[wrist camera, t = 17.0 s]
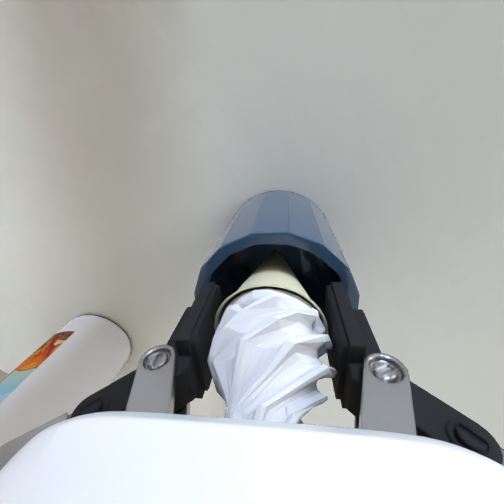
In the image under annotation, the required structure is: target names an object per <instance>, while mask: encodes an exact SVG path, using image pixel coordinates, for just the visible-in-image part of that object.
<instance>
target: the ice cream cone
mask: <svg viewBox="0 0 504 504" xmlns="http://www.w3.org/2000/svg"><path fill="white" fill-rule="evenodd" d="M214 326H215V334H214V337H213V339H212V344H211V348H210V352H209V356H208V360H207V361H208V365H209V368H210V371H211V374H212V378H213V381H214V384H215V387H216V391H217V392H218V394H219V395H220V396H221V397H222V398H223V399H224V401H225V403H226V406H227V408H226V413H225V417H224V418H235V419H247V420H260V421H272V422H285V423H297V424H304V423H303V422H302V421H301V418H302V417H303V416H304V415H305V414H306V413H307V412H308V411H309V410H310V409H312V408H313V407H315V406H317V405H320V404H322V403H324V402H325V401H327V400H328V397H327V396H326V395H324V394H322V393H320V392H319V391H318V390H317V386H316V383H317V381H318V380H319V379H322V378H334V377H335V376H336V374H337V373H338V372H337V370H336V368H333V367H330V366H328V365H325V364H322V363H321V362H320V361H319V356H318V355H319V354H320V353H321V351H324V350H330V349H332V348H333V344H332V342H331V340H330V337H329V335H328V325H327V321H326V318H325V316H324V314H323V313H322V311H321V309H320V308H319V307H318V306H317V305H316V304H315V302H314V301H312V300H311V299H310V298H309V296H308V294H307V293H306V291H305V290H304V288H303V287H302V285H301V284H300V282H299V281H298V279H297V278H296V276H295V275H294V273H293V271H292V270H291V268H290V266H289V265H288V263H287V262H286V260H285V259H284V257H283V256H282V254H281V253H280V251H279V250H278V249H275V250H273V251H272V253H271V254H270V255H269V256H268V257H267V258H266V259H265V260H264V261H263V262H262V263H261V265H260V266H259V267H258V268H257V269H256V270H255V271H254V272H253V273H252V274H251V275H250V277H249V278H248V279H247V280H246V281H245V282H244V283H243V284H242V285H241V287H240V288H239V289H238V290H237V291H236V292H234V293H233V294H231V295H230V296H229V297H227V298H226V299H225V301H224V302H223V303H222V304H221V305H220V307H219V309H218V310H217V313H216V316H215V324H214Z"/></svg>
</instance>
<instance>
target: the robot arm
mask: <svg viewBox="0 0 504 504" xmlns="http://www.w3.org/2000/svg"><path fill="white" fill-rule="evenodd" d="M221 304H222V296H221V290H220V286H219V285H216V283H215V282H204V284H203V286H202V287H201V289H200V291H199V293H198V295H197V297H196V299H195V301H194V303H193V305H192V306H191V307H188V308H187V309H186V310H185V312H184V314H183V316H182V317H181V319H180V321H179V323H178V325H177V326H176V328H175V330H174V332H173V334H172V336H171V337H170V339H169V341H168V343H167V345H158V346H155V347H153V348H151V349H149V350H148V351H147V352H145V353H144V354H143V356H142V357H141V358H140V361H139V363H138V367H137V369H136V370H135V371H133V372H131V373H129V374H127V375H126V376H124V377H122V378H120V379H119V380H117V381H115V382H113V383H111V384H110V385H108V386H106V387H104V388H102V389H101V390H99V391H97V392H95V393H93V394H92V395H90V396H88V397H87V398H85V399H84V400H83V401H82V402H81V403H80V404H79V405H78V406H77V407H76V408H75V410H74V411H73V413H72V414H70V415H69V414H68V413H65V414H63V415H61V416H59V417H57V418H55V419H53V420H51V421H49V422H47V423H45V424H43V425H41V426H39V427H37V428H35V429H33V430H31V431H29V432H27V433H25V434H23V435H21V436H19V437H17V438H15V439H13V440H11V441H9V442H7V443H5V444H4V445H2V446H1V447H0V504H504V449H502V448H501V447H500V446H499V445H498V443H497V442H496V440H495V439H494V438H493V436H492V435H491V434H490V433H489V432H488V431H487V430H485V429H484V428H483V427H481V426H480V425H479V424H477V423H476V422H474V421H473V420H471V419H470V418H468V417H466V416H465V415H463V414H462V413H460V412H458V411H457V410H455V409H454V408H452V407H450V406H449V405H447V404H446V403H444V402H443V401H441V400H439V399H438V398H436V397H435V396H433V395H431V394H430V393H428V392H427V391H425V390H423V389H422V388H420V387H419V386H417V385H416V384H414V383H412V382H411V381H410V377H409V373H408V370H407V368H406V367H405V366H404V364H403V363H401V362H400V361H399V360H398V359H396V358H395V357H393V356H390V355H388V354H384V353H381V351H380V349H379V347H378V344H377V342H376V340H375V337H374V335H373V333H372V330H371V328H370V326H369V323H368V321H367V319H366V316H365V314H364V312H363V310H356V309H353V308H352V306H351V303H350V300H349V298H348V295H347V292H346V290H345V287H344V284H343V282H331V283H330V285H326V292H325V308H324V316H325V318H326V321H327V325H328V335H329V337H330V340H331V342H332V344H333V348H332V349H330V350H327V355H328V360H329V365H330V367H333V368H336V370H337V372H338V373H337V374H336V376H335V377H334V378H332V381H333V387H334V392H335V397H336V399H341V404H342V408H347V410H349V411H350V412H351V413H352V414H353V415H354V416H355V421H354V428H344V427H332V426H320V425H309V424H297V423H285V422H272V421H260V420H247V419H235V418H222V417H208V416H195V415H190V402H191V401H192V400H194V399H195V398H203V394H204V391H205V390H206V391H207V390H208V389H209V387H210V383H211V380H212V374H211V371H210V368H209V365H208V361H207V360H208V356H209V352H210V348H211V344H212V339H213V337H214V334H215V326H214V324H215V316H216V313H217V310H218V309H219V307H220V305H221Z"/></svg>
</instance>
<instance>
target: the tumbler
mask: <svg viewBox="0 0 504 504" xmlns="http://www.w3.org/2000/svg"><path fill="white" fill-rule="evenodd" d="M275 249H278V250H279V251H280V253H281V254H282V256H283V257H284V259H285V260H286V262H287V263H288V265H289V266H290V268H291V270H292V271H293V273H294V275H295V276H296V278H297V279H298V281H299V282H300V284H301V285H302V287H303V288H304V290H305V291H306V293H307V294H308V296H309V298H310V299H311V300H312V301H314V302H315V304H316V305H317V306H318V307H319V308H320V309H321V311H322V313H323V314H324V308H325V292H326V285H330V283H331V282H343V284H344V287H345V290H346V292H347V295H348V298H349V300H350V303H351V306H352V308H353V309H356V310H358V304H359V296H360V295H359V291H358V289H357V286H356V284H355V281H354V278H353V276H352V273H351V271H350V268H349V266H348V264H347V262H346V260H345V258H344V255H343V253H342V251H341V249H340V247H339V245H338V243H337V241H336V238H335V236H334V234H333V232H332V230H331V228H330V226H329V224H328V221H327V219H326V217H325V215H324V214H323V213H322V212H321V210H320V209H319V208H318V207H317V206H316V205H315V204H314V203H313V202H312V201H310V200H309V199H307V198H306V197H304V196H302V195H299V194H297V193H293V192H289V191H270V192H266V193H262V194H259V195H257V196H255V197H253V198H251V199H250V200H248V201H247V202H246V203H245V204H244V205H243V206H242V207H241V208H240V209H239V210H238V212H237V213H236V214H235V215H234V216H233V218H232V219H231V221H230V222H229V224H228V226H227V227H226V229H225V230H224V232H223V234H222V235H221V237H220V238H219V240H218V242H217V243H216V245H215V246H214V248H213V250H212V251H211V253H210V255H209V256H208V258H207V259H206V261H205V263H204V264H203V266H202V268H201V270H200V274H199V277H198V281H197V285H196V289H195V292H194V293H195V299H196V297H197V295H198V293H199V291H200V289H201V287H202V286H203V284H204V282H215V283H216V285H219V286H220V290H221V296H222V303H223V302H224V301H225V299H226V298H227V297H229V296H230V295H231V294H233V293H234V292H236V291H237V290H238V289H239V288H240V287H241V285H242V284H243V283H244V282H245V281H246V280H247V279H248V278H249V277H250V275H251V274H252V273H253V272H254V271H255V270H256V269H257V268H258V267H259V266H260V265H261V263H262V262H263V261H264V260H265V259H266V258H267V257H268V256H269V255H270V254H271V253H272V251H273V250H275ZM325 353H327V350H324V351H321V353H320V354H319V355H318V356H319V357H321V356H322V355H324V354H325Z"/></svg>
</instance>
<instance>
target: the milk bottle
mask: <svg viewBox="0 0 504 504" xmlns="http://www.w3.org/2000/svg"><path fill="white" fill-rule="evenodd" d="M130 350H131V346H130V342H129V339H128V337H127V336H126V334H125V333H124V332H123V330H122V329H121V328H119V327H118V326H117V325H116V324H114V323H113V322H111V321H109V320H107V319H105V318H102V317H99V316H94V315H85V316H80V317H77V318H75V319H73V320H71V321H70V322H69V323H68V324H66V325H65V326H64V327H63V328H62V329H61V330H59V331H58V332H57V333H56V334H55V335H54V336H52V337H51V338H50V339H49V340H48V341H47V342H46V343H44V344H43V345H42V346H41V347H40V348H39V349H38V350H36V351H35V352H34V353H33V354H32V355H31V356H30V357H28V358H27V359H26V360H25V361H24V362H23V363H22V364H20V365H19V366H18V367H17V368H16V369H15V370H14V371H13V372H11V373H10V374H9V375H8V376H7V377H6V378H5V379H4V380H2V381H1V382H0V447H1V446H2V445H4V444H5V443H7V442H9V441H11V440H13V439H15V438H17V437H19V436H21V435H23V434H25V433H27V432H29V431H31V430H33V429H35V428H37V427H39V426H41V425H43V424H45V423H47V422H49V421H51V420H53V419H55V418H57V417H59V416H61V415H63V414H65V413H68V414H69V415H70V414H72V413H73V411H74V410H75V408H76V407H77V406H78V405H79V404H80V403H81V402H82V401H83V400H84V399H85V398H87V397H88V396H90V395H92V394H93V393H95V392H97V391H99V390H101V389H102V388H104V387H106V386H108V385H110V384H111V383H112V381H113V380H114V379H115V377H116V376H117V374H118V373H119V371H120V370H121V368H122V367H123V366H124V364H125V362H126V361H127V359H128V358H129V355H130Z"/></svg>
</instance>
